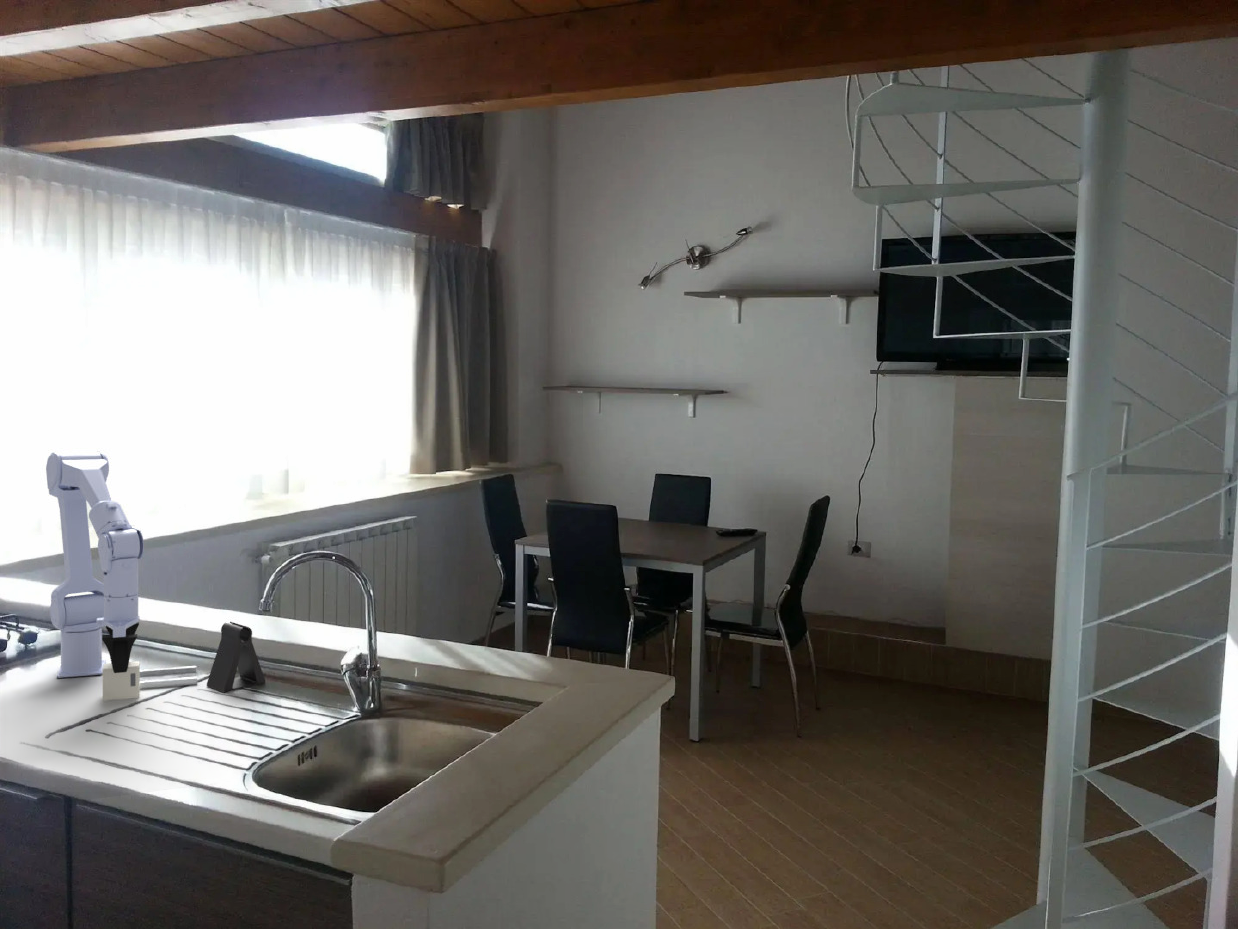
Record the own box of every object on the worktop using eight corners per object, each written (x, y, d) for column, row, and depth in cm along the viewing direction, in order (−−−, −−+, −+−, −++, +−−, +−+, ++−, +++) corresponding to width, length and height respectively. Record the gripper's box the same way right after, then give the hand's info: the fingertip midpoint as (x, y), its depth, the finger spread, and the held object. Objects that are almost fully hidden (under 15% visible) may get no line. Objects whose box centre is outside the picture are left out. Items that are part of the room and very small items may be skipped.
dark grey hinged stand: (223, 693, 186) (223, 631, 185) (206, 686, 189) (206, 625, 188) (265, 683, 193) (266, 623, 192) (248, 676, 197) (248, 618, 196)
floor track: (107, 678, 192) (107, 672, 192) (196, 671, 199) (196, 665, 199) (104, 692, 184) (104, 685, 184) (197, 684, 191) (197, 678, 190)
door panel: (103, 695, 182) (103, 664, 182) (139, 692, 185) (139, 661, 184) (102, 701, 179) (102, 669, 179) (139, 697, 182) (138, 666, 181)
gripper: (99, 587, 185) (99, 658, 186) (93, 603, 172) (94, 679, 173) (140, 586, 188) (141, 655, 189) (138, 601, 175) (138, 675, 176)
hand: (121, 666), depth 181 cm, fingers open, 7 cm apart
